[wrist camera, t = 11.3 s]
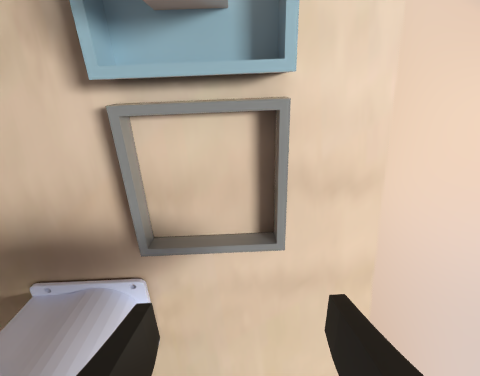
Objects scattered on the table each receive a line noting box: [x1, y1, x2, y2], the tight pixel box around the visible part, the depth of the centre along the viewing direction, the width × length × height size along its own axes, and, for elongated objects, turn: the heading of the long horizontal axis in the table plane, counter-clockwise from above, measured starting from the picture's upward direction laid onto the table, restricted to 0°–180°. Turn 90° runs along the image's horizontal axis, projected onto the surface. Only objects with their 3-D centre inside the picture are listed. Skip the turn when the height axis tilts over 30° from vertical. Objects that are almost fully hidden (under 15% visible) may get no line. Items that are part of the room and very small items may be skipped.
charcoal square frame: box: [106, 97, 291, 256], centre depth 17 cm, size 11×11×2 cm
